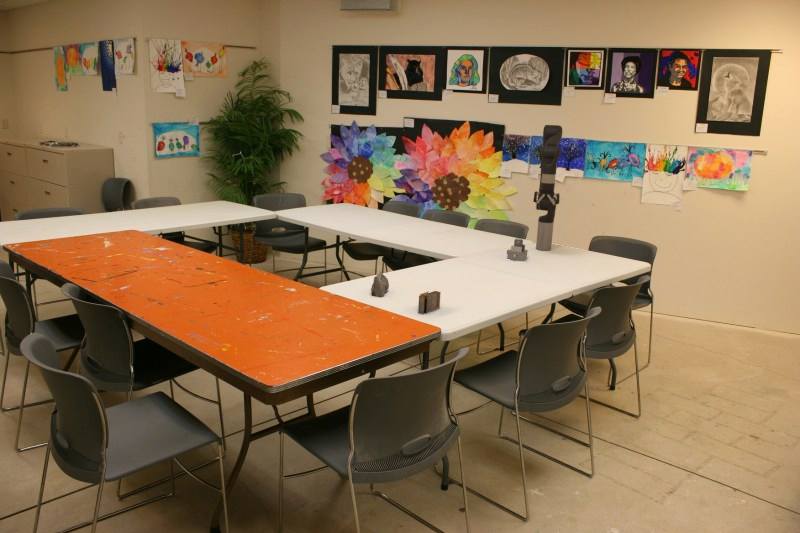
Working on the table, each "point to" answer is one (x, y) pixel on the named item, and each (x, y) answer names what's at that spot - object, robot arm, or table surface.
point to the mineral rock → (379, 285)
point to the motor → (517, 253)
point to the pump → (518, 242)
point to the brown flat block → (429, 302)
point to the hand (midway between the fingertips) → (545, 210)
